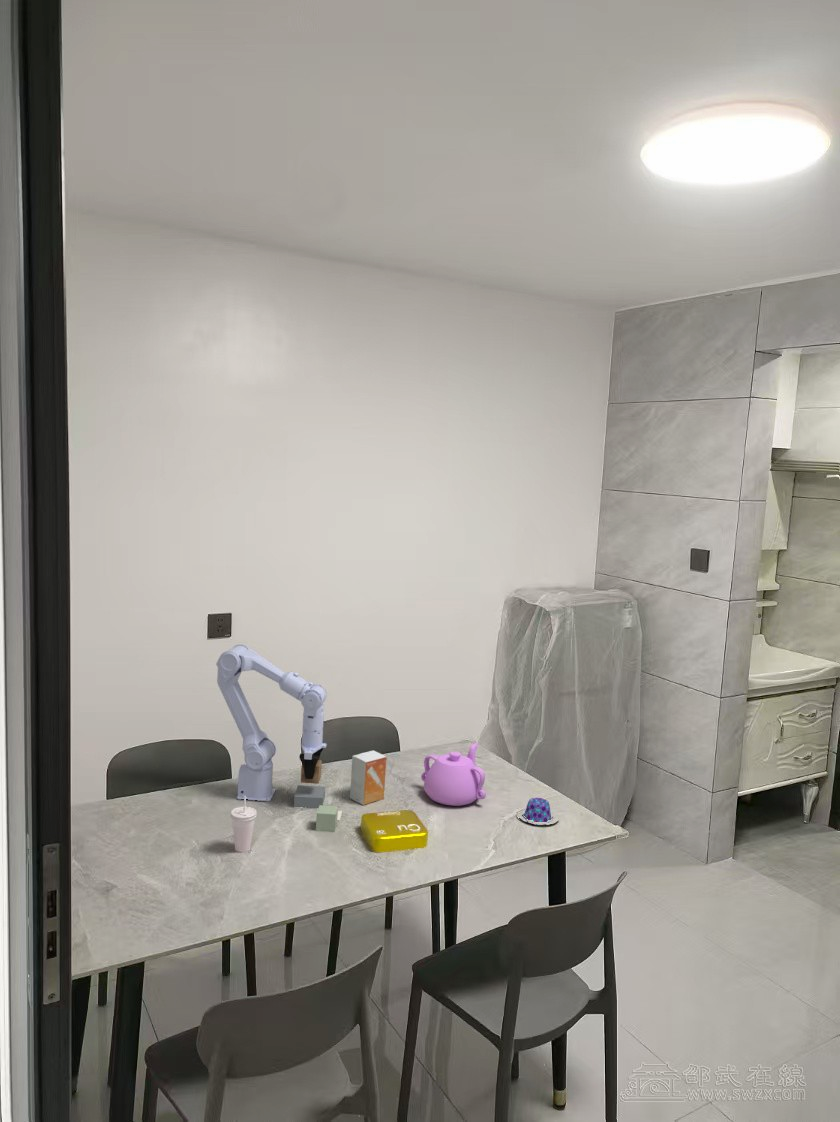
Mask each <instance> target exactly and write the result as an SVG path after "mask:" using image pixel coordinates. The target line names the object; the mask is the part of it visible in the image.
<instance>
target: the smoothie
mask: <svg viewBox="0 0 840 1122" xmlns="http://www.w3.org/2000/svg"><path fill="white" fill-rule="evenodd" d="M257 816H258V814H257V810H256V808H253V807H250V806H247V800H246V796H244V800H243V806H238V807H235V808H233V809H231V812H230V819H231V821H232V831H233V832H232V833H233V840H234V841H233V843H234V850H235V851H236V852H238V853H246V852H249V851H250V849H251V845H252V839H253V833H254V826H255V820H256V817H257Z"/></svg>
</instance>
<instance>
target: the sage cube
mask: <svg viewBox="0 0 840 1122" xmlns="http://www.w3.org/2000/svg"><path fill="white" fill-rule="evenodd" d="M338 811H339V806H336V805H324V804H323V805H319V808H318V809H317V811H316V817H315V818H316V821H315V824H316V825H315V832H316V831H317V832H325V831H328V832H329V833H335V832H336V828H337V825H338V821H337V816H338Z"/></svg>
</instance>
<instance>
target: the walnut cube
mask: <svg viewBox="0 0 840 1122" xmlns="http://www.w3.org/2000/svg"><path fill="white" fill-rule="evenodd" d="M322 764H323V761H322V760H321V759H319V760H318V762H317V764H316V768H315V773H314V777H313V779H306V778H305V774H304V768H303V765H302V764H301V769H300V770H301V771H300V783H301V784H302V783H303V784H317V785H318V784H319V783H320V781H321V779H322Z"/></svg>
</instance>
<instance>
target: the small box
mask: <svg viewBox="0 0 840 1122" xmlns="http://www.w3.org/2000/svg"><path fill="white" fill-rule="evenodd" d="M387 758H388V757H387V756H386V755H384V754H382V753H381V752H378V751H376V750H374V749H373V750H369V751H366V752H361V753H358V754H353V755H352V756H351V774H350V777H351V778H350V792H349V798H350V799H351V800H353V801H355V802H356V803H358V804H360V805H362V806H365V805H368V804H370V803H374V802H377V801H381V800H384V799H385V786H386V785H385V784H386V773H387V772H386V769H387Z"/></svg>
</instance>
